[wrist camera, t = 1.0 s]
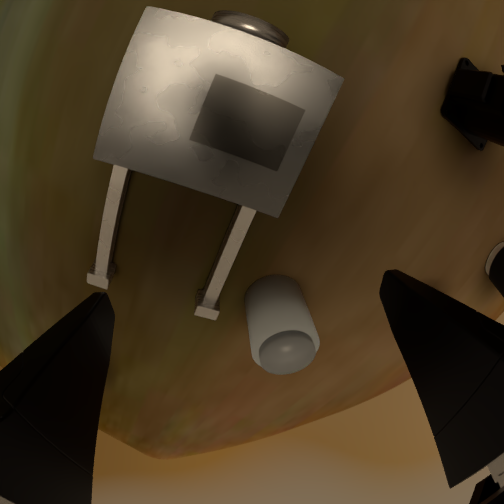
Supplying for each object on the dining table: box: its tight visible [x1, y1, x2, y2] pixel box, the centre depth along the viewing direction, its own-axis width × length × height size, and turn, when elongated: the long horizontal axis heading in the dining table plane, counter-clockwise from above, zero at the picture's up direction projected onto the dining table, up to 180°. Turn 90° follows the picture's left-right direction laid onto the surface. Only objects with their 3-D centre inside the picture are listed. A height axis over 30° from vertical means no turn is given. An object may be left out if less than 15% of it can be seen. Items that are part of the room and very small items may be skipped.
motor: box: [87, 6, 344, 320], centre depth 16 cm, size 11×20×8 cm, turn 158°
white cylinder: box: [245, 275, 320, 374], centre depth 23 cm, size 5×5×7 cm
